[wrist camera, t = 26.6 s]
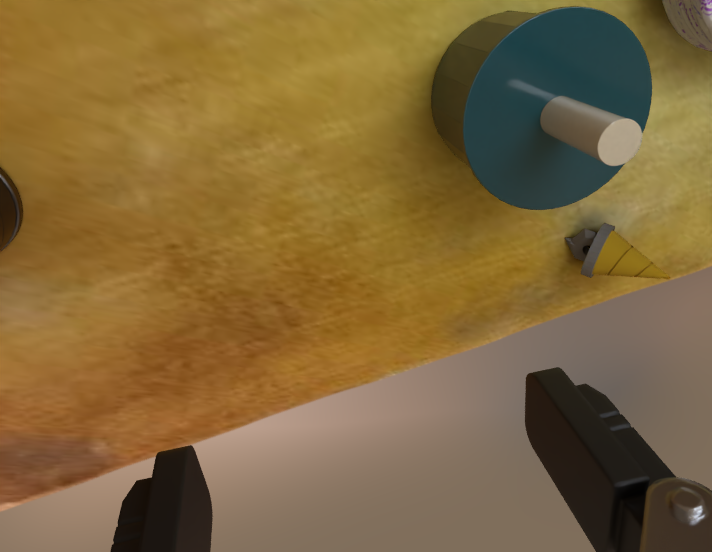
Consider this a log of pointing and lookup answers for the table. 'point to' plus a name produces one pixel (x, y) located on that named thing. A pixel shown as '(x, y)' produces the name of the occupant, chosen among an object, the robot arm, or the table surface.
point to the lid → (556, 107)
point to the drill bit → (611, 255)
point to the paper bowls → (691, 20)
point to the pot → (465, 73)
